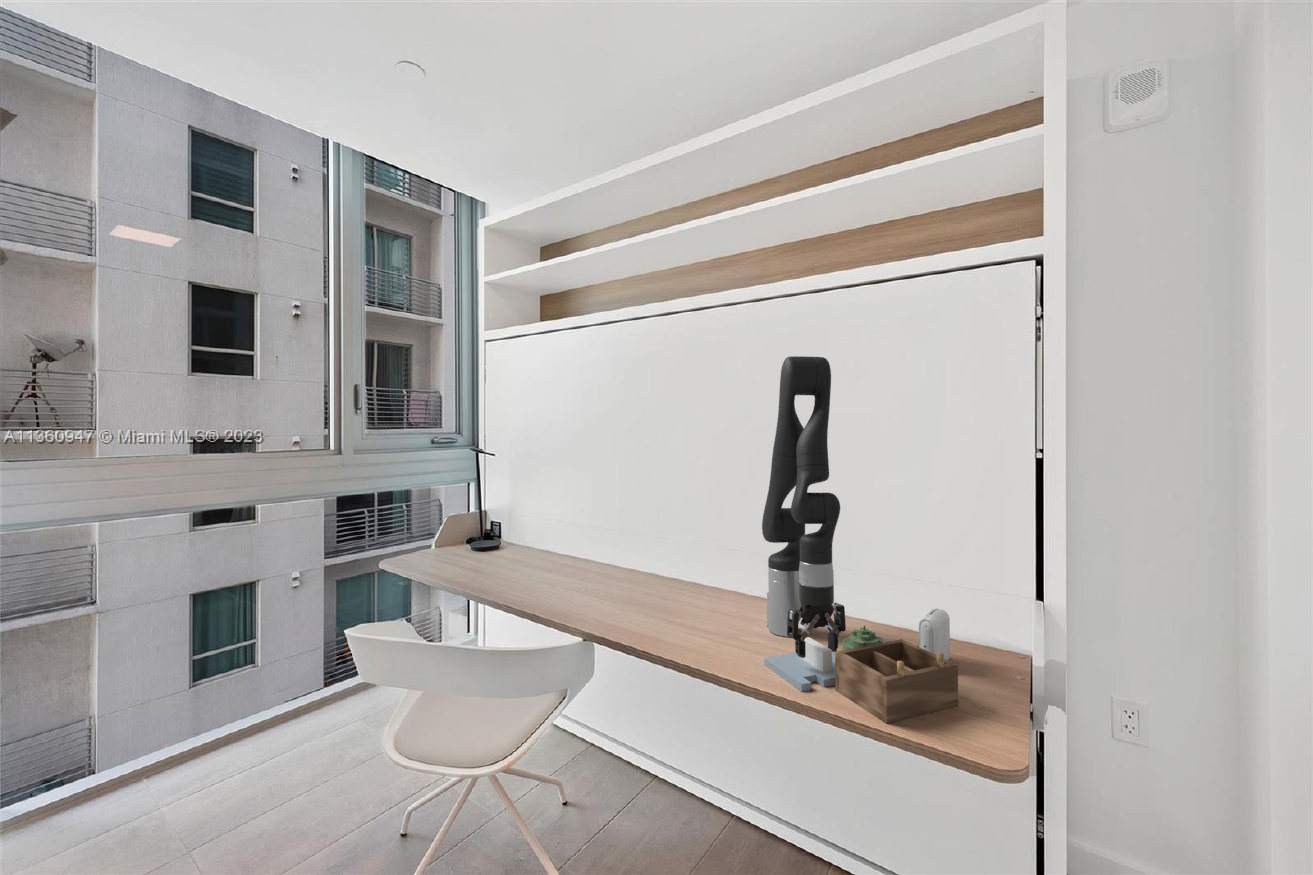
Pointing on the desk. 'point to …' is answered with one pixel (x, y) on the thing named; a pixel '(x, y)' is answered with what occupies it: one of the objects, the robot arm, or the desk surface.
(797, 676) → the notched blue lid
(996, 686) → the desk surface
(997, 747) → the desk surface
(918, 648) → the wooden box with compartments
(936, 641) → the photo printer
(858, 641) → the decorative artifact
